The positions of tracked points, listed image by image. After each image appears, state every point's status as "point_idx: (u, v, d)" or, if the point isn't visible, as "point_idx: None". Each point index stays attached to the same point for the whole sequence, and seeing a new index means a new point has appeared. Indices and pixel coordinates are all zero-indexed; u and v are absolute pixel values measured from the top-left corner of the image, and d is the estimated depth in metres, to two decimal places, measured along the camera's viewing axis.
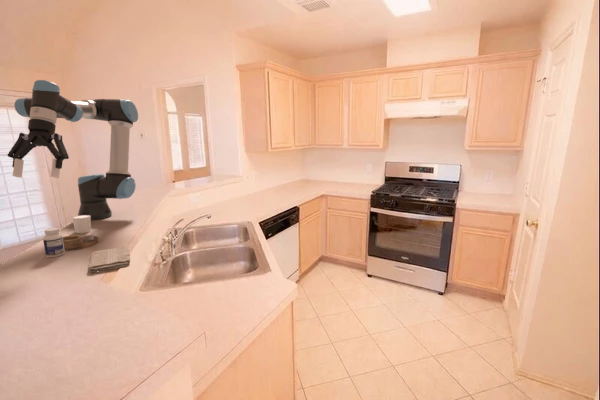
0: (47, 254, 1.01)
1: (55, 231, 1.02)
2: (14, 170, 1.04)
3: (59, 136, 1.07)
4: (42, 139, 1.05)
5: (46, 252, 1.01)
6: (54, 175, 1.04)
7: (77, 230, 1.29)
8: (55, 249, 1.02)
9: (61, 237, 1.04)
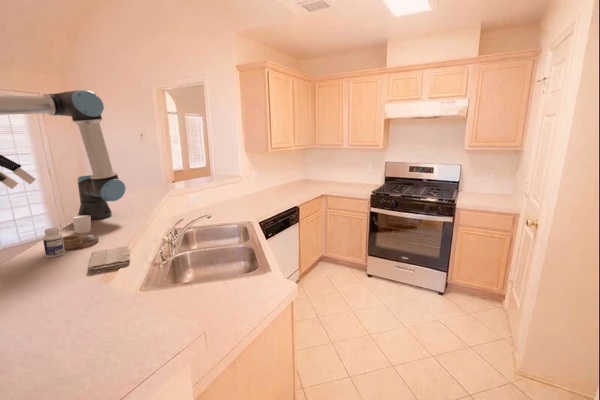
0: (47, 254, 1.01)
1: (55, 231, 1.02)
2: None
3: None
4: None
5: (46, 252, 1.01)
6: (11, 186, 1.00)
7: (77, 230, 1.29)
8: (55, 249, 1.02)
9: (61, 237, 1.04)
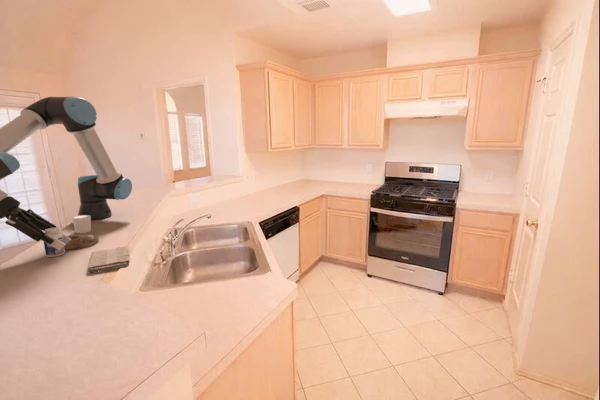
0: (47, 254, 1.02)
1: (55, 231, 1.02)
2: None
3: (10, 222, 0.93)
4: None
5: (46, 252, 1.01)
6: (59, 248, 1.02)
7: (77, 230, 1.29)
8: (55, 249, 1.02)
9: (61, 237, 1.04)
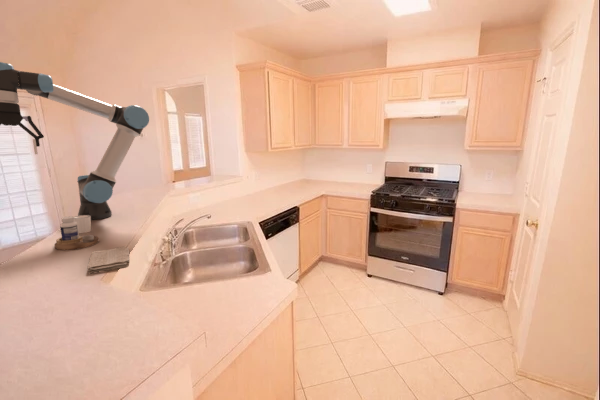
0: (64, 240, 1.13)
1: (71, 219, 1.13)
2: None
3: None
4: None
5: (63, 238, 1.13)
6: None
7: None
8: (71, 235, 1.13)
9: (76, 225, 1.15)
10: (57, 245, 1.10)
